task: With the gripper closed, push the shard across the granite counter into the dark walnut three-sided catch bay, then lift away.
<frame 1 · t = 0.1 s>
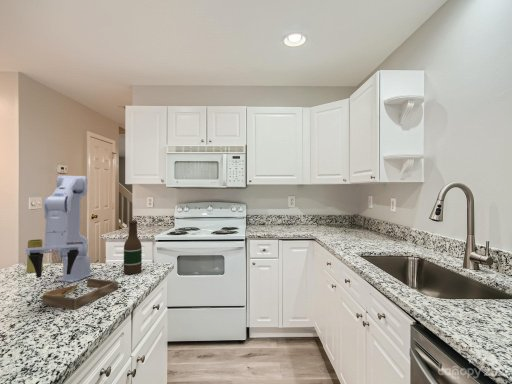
hand: (54, 275, 83), 11 cm above the worktop, tool pointing down, fingers open, 7 cm apart
olive green rod: (34, 271, 122), on the worktop
beer bottle: (132, 273, 121), on the worktop
shard: (58, 295, 96), on the worktop
catch bay: (82, 296, 93), on the worktop
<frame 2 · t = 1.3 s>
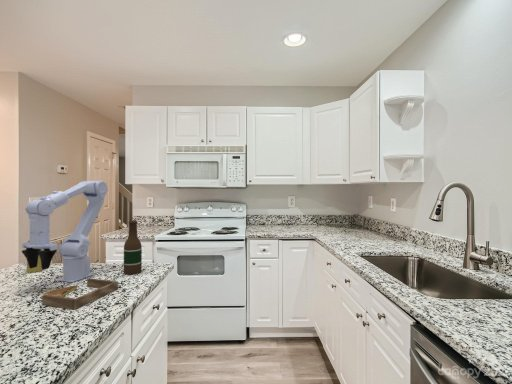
hand: (39, 268, 98), 8 cm above the worktop, tool pointing down, fingers open, 5 cm apart
nothing on the worktop moved.
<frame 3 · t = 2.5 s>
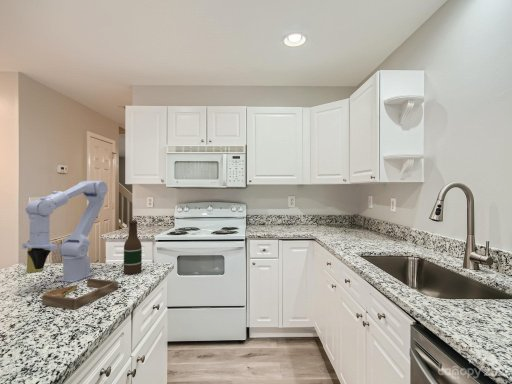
hand: (39, 268, 98), 8 cm above the worktop, tool pointing down, fingers closed
nothing on the worktop moved.
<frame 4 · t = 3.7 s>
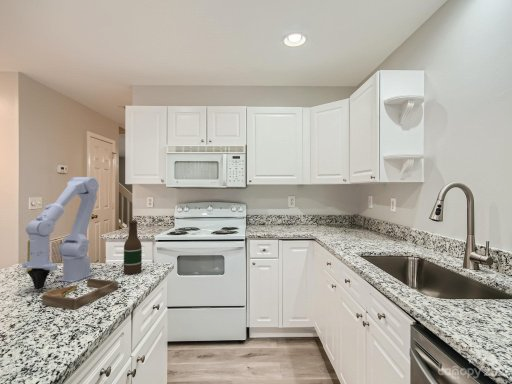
hand: (39, 288, 98), 1 cm above the worktop, tool pointing down, fingers closed
nothing on the worktop moved.
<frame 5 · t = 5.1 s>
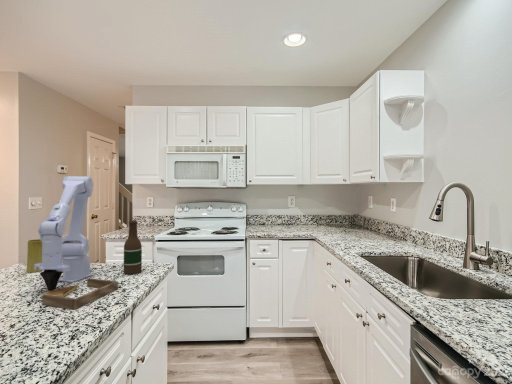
hand: (51, 289, 96), 1 cm above the worktop, tool pointing down, fingers closed
shard: (58, 295, 96), on the worktop, touching gripper
everything else where it was.
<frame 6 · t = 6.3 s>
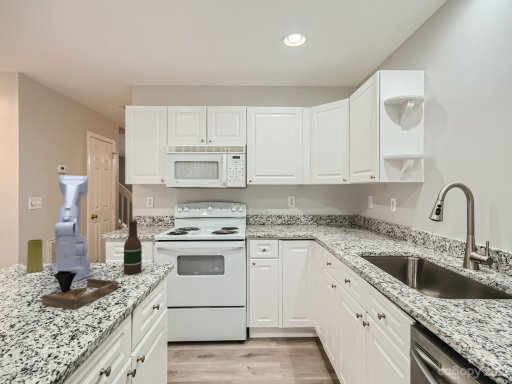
hand: (65, 291, 95), 1 cm above the worktop, tool pointing down, fingers closed
shard: (68, 298, 93), on the worktop
everything else where it was.
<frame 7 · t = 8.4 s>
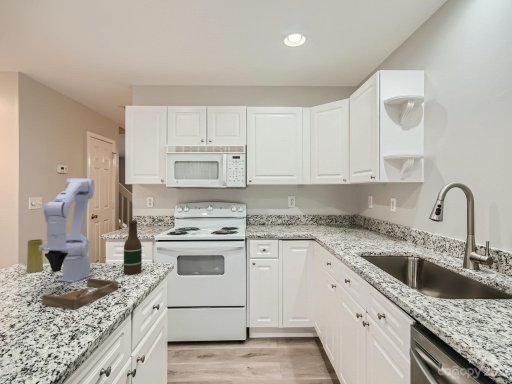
hand: (56, 271, 96), 8 cm above the worktop, tool pointing down, fingers closed
shard: (70, 299, 92), on the worktop
everything else where it was.
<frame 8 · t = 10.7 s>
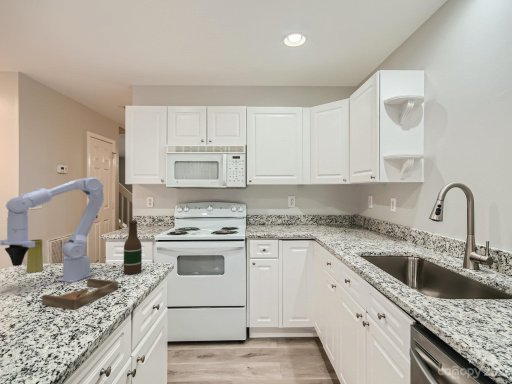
hand: (17, 265, 98), 9 cm above the worktop, tool pointing down, fingers closed
nothing on the worktop moved.
at the end: shard inside the target area (4.3 cm from its centre), on the worktop; shard moved 7.9 cm from its start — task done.
